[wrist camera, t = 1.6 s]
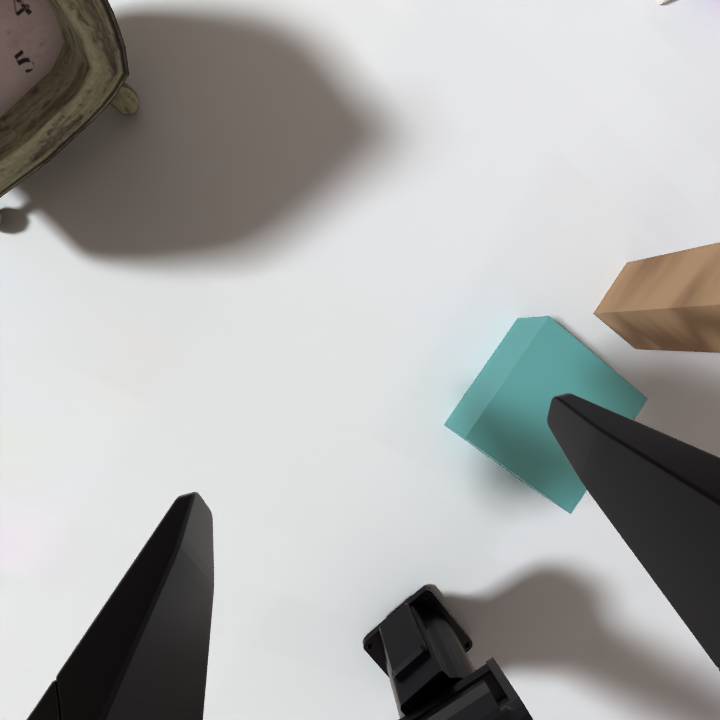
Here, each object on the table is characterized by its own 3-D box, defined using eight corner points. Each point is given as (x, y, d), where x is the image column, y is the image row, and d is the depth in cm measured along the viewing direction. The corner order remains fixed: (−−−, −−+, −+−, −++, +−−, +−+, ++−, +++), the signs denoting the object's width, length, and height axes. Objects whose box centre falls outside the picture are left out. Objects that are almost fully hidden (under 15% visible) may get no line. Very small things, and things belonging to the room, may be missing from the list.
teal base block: (602, 390, 30) (647, 398, 26) (535, 490, 30) (570, 513, 26) (514, 318, 29) (549, 316, 25) (442, 423, 28) (465, 438, 24)
